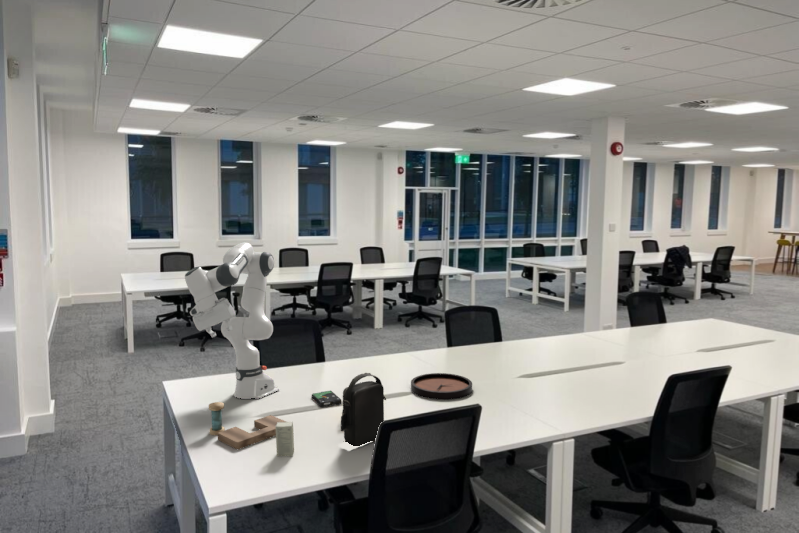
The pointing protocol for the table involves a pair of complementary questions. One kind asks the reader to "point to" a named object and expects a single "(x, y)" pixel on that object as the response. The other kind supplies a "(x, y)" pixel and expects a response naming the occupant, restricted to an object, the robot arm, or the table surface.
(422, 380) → the wall clock
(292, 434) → the skincare box
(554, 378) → the table surface
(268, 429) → the notched board
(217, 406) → the bobbin
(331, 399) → the disk drive
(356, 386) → the shoulder bag
